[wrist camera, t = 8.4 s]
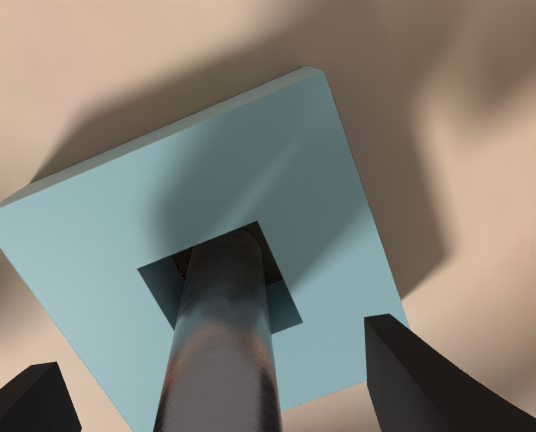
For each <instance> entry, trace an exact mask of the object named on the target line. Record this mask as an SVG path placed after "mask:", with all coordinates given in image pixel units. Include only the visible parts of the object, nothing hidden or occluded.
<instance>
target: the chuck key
mask: <svg viewBox="0 0 536 432" xmlns="http://www.w3.org/2000/svg"><path fill="white" fill-rule="evenodd" d="M153 432H283V426H282V418H281V410H280V402H279V394H278V385H277V377H276V369H275V361H274V352H273V344H272V336H271V328H270V319H269V311H268V303H267V295H266V287H265V278H264V270H263V262H262V254H261V249H260V246H259V244H258V242H257V241H256V239H255V238H254V237H253V236H252V235H251V234H250V233H248V232H247V231H245V230H243V229H241V228H237V229H235V230H232V231H230V232H227V233H225V234H222V235H220V236H217V237H215V238H212V239H210V240H207V241H205V242H202V243H200V244H197V245H195V246H193V249H192V253H191V257H190V262H189V267H188V271H187V276H186V281H185V285H184V290H183V294H182V299H181V304H180V308H179V313H178V317H177V322H176V327H175V331H174V336H173V340H172V345H171V350H170V354H169V359H168V364H167V368H166V373H165V377H164V382H163V387H162V391H161V396H160V400H159V405H158V410H157V414H156V419H155V423H154V428H153Z"/></svg>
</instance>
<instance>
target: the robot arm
mask: <svg viewBox="0 0 536 432" xmlns="http://www.w3.org/2000/svg"><path fill="white" fill-rule="evenodd" d="M364 331H365V352H366V373H367V387H368V390H369V393H370V397H371V400H372V403H373V406H374V410H375V413H376V416H377V419H378V422H379V425H380V428H381V430H382V432H536V418H534V417H533V416H531V415H529V414H528V413H526V412H524V411H522V410H521V409H519V408H517V407H516V406H514V405H513V404H511V403H509V402H508V401H506V400H505V399H503V398H501V397H500V396H498V395H497V394H496V393H494V392H493V391H491V390H490V389H488V388H487V387H485V386H484V385H482V384H481V383H479V382H478V381H476V380H475V379H473V378H472V377H470V376H469V375H468V374H466V373H465V372H463V371H462V370H461V369H459V368H458V367H457V366H455V365H454V364H453V363H451V362H450V361H449V360H447V359H446V358H445V357H443V356H442V355H441V354H439V353H438V352H437V351H436V350H434V349H433V348H432V347H431V346H429V345H428V344H427V343H426V342H424V341H423V340H422V339H421V338H419V337H418V336H417V335H416V334H414V333H413V332H412V331H411V330H410V329H408V328H407V327H406V326H405V325H403V324H402V323H401V322H400V321H398V320H397V319H396V318H395V317H393V316H392V315H391V314H390V313H388V314H381V315H375V316H368V317H364ZM81 429H82V427H81V424H80V422H79V419H78V416H77V414H76V411H75V408H74V406H73V403H72V400H71V398H70V395H69V392H68V390H67V387H66V384H65V382H64V379H63V376H62V374H61V371H60V368H59V366H58V363H57V362H50V363H43V364H36V365H30V366H29V367H28V368H26V369H25V370H24V371H22V372H21V373H20V374H18V375H17V376H16V377H15V378H13V379H12V380H11V381H10V382H8V383H7V384H6V385H5V386H3V387H2V388H1V389H0V432H81Z"/></svg>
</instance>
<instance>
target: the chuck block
mask: <svg viewBox="0 0 536 432" xmlns="http://www.w3.org/2000/svg"><path fill="white" fill-rule="evenodd" d="M255 221H258V223H259V225H260V228H261V230H262V232H263V234H264V236H265V239H266V241H267V243H268V245H269V248H270V250H271V252H272V254H273V256H274V259H275V261H276V263H277V265H278V268H279V270H280V272H281V274H282V276H283V279H282V280H280V281H277V282H275V283H272V284H270V285H267V286H265V287H266V295H267V303H268V311H269V319H270V328H271V336H272V344H273V352H274V361H275V369H276V377H277V385H278V394H279V402H280V410H281V411H283V410H286V409H289V408H291V407H294V406H297V405H300V404H302V403H305V402H308V401H311V400H313V399H316V398H319V397H322V396H325V395H327V394H330V393H333V392H336V391H338V390H341V389H344V388H347V387H349V386H352V385H355V384H358V383H361V382H363V381H366V380H367V373H366V352H365V331H364V317H368V316H375V315H381V314H388V313H390V314H391V315H392V316H393V317H395V318H396V319H397V320H398V321H400V322H401V323H402V324H403V325H405V326H406V327H407V328H408V329H410V327H409V324H408V321H407V318H406V315H405V312H404V309H403V306H402V303H401V300H400V297H399V294H398V291H397V288H396V285H395V282H394V279H393V276H392V273H391V270H390V267H389V264H388V261H387V258H386V255H385V252H384V249H383V246H382V243H381V240H380V237H379V234H378V231H377V228H376V225H375V222H374V219H373V216H372V213H371V210H370V207H369V204H368V201H367V198H366V195H365V192H364V189H363V186H362V183H361V180H360V177H359V174H358V171H357V168H356V165H355V162H354V159H353V156H352V153H351V150H350V147H349V144H348V141H347V138H346V135H345V132H344V129H343V126H342V123H341V120H340V117H339V114H338V111H337V108H336V105H335V102H334V99H333V96H332V93H331V90H330V87H329V84H328V81H327V78H326V75H325V72H324V70H321V69H317V68H313V67H309V66H304V67H302V68H299V69H297V70H295V71H292V72H290V73H288V74H285V75H283V76H281V77H278V78H276V79H274V80H271V81H269V82H267V83H264V84H262V85H260V86H257V87H255V88H253V89H250V90H248V91H246V92H243V93H241V94H239V95H236V96H234V97H232V98H229V99H227V100H225V101H222V102H220V103H218V104H215V105H213V106H210V107H208V108H206V109H203V110H201V111H199V112H196V113H194V114H192V115H189V116H187V117H185V118H182V119H180V120H178V121H175V122H173V123H171V124H168V125H166V126H164V127H161V128H159V129H157V130H154V131H152V132H150V133H147V134H145V135H143V136H140V137H138V138H136V139H133V140H131V141H129V142H126V143H124V144H122V145H119V146H117V147H115V148H112V149H110V150H108V151H105V152H103V153H101V154H98V155H96V156H94V157H91V158H89V159H87V160H84V161H82V162H80V163H77V164H75V165H73V166H70V167H68V168H65V169H63V170H61V171H58V172H56V173H54V174H51V175H49V176H47V177H44V178H42V179H40V180H37V181H35V182H33V183H30V184H28V185H27V186H25V187H23V188H22V189H20V190H19V191H17V192H16V193H14V194H13V195H11V196H10V197H8V198H7V199H5V200H4V201H2V202H1V203H0V249H1V250H2V251H3V253H4V254H5V256H6V257H7V258H8V260H9V261H10V262H11V264H12V265H13V267H14V268H15V269H16V271H17V272H18V273H19V275H20V276H21V278H22V279H23V280H24V282H25V283H26V284H27V286H28V287H29V289H30V290H31V291H32V293H33V294H34V296H35V297H36V298H37V300H38V301H39V302H40V304H41V305H42V307H43V308H44V309H45V311H46V312H47V313H48V315H49V316H50V318H51V319H52V320H53V322H54V323H55V325H56V326H57V327H58V329H59V330H60V331H61V333H62V334H63V336H64V337H65V338H66V340H67V341H68V342H69V344H70V345H71V347H72V348H73V349H74V351H75V352H76V354H77V355H78V356H79V358H80V359H81V360H82V362H83V363H84V365H85V366H86V367H87V369H88V370H89V371H90V373H91V374H92V376H93V377H94V378H95V380H96V381H97V383H98V384H99V385H100V387H101V388H102V389H103V391H104V392H105V394H106V395H107V396H108V398H109V399H110V400H111V402H112V403H113V405H114V406H115V407H116V409H117V410H118V412H119V413H120V414H121V416H122V417H123V418H124V420H125V421H126V423H127V424H128V425H129V427H130V428H131V429H132V431H133V432H153V428H154V423H155V419H156V414H157V410H158V405H159V400H160V396H161V391H162V387H163V382H164V377H165V373H166V368H167V364H168V359H169V354H170V350H171V345H172V340H173V336H174V331H175V327H176V322H177V317H178V313H179V308H180V304H181V299H182V294H183V290H184V285H185V282H184V280H183V278H182V276H181V274H180V273H179V271H178V269H177V267H176V265H175V264H174V262H173V260H172V258H171V256H170V255H172V254H175V253H177V252H180V251H182V250H185V249H187V248H190V247H192V246H195V245H197V244H200V243H202V242H205V241H207V240H210V239H212V238H215V237H217V236H220V235H222V234H225V233H227V232H230V231H232V230H235V229H237V228H240V227H242V226H245V225H247V224H250V223H252V222H255Z"/></svg>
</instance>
